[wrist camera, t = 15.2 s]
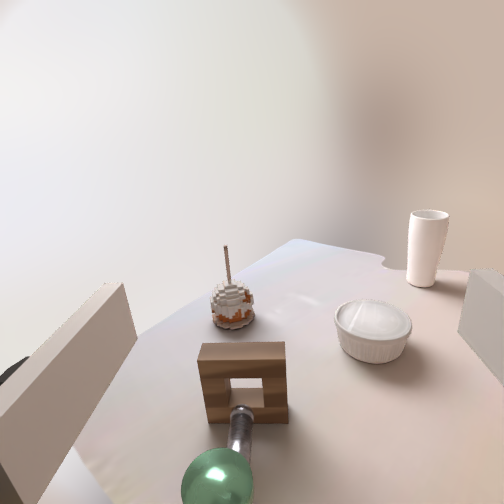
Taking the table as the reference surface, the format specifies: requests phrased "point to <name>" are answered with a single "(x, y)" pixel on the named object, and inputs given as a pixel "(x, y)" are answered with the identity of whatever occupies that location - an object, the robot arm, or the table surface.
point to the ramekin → (372, 330)
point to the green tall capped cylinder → (224, 467)
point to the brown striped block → (244, 366)
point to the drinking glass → (425, 245)
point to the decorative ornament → (231, 302)
